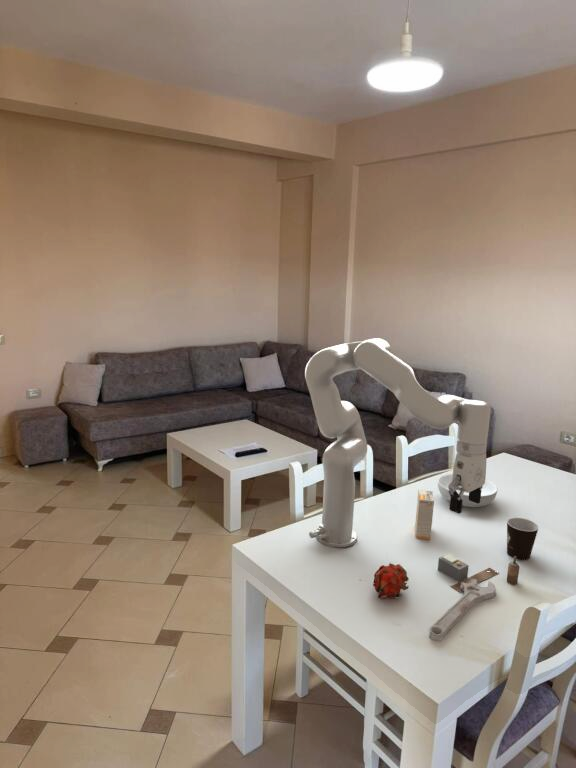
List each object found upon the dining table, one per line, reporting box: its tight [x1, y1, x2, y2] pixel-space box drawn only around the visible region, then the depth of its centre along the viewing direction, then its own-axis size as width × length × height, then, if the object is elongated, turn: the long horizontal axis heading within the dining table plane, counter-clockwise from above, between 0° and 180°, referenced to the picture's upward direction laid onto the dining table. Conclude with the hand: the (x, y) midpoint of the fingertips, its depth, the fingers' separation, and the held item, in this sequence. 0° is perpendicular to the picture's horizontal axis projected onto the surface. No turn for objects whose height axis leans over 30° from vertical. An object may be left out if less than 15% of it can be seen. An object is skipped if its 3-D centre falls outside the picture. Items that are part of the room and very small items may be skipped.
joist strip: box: [450, 567, 498, 593], centre depth 149 cm, size 17×3×1 cm, turn 125°
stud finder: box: [437, 553, 470, 583], centre depth 151 cm, size 4×7×4 cm, turn 35°
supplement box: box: [414, 489, 435, 540], centre depth 172 cm, size 8×5×13 cm, turn 168°
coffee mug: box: [506, 517, 539, 561], centre depth 162 cm, size 12×9×10 cm
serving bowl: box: [437, 473, 499, 508], centre depth 197 cm, size 21×21×7 cm
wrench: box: [428, 579, 497, 642], centre depth 135 cm, size 8×2×30 cm
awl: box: [506, 556, 521, 586], centre depth 147 cm, size 3×3×8 cm
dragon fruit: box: [372, 562, 409, 600], centre depth 140 cm, size 8×8×12 cm
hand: (464, 506), depth 146 cm, fingers open, 9 cm apart
